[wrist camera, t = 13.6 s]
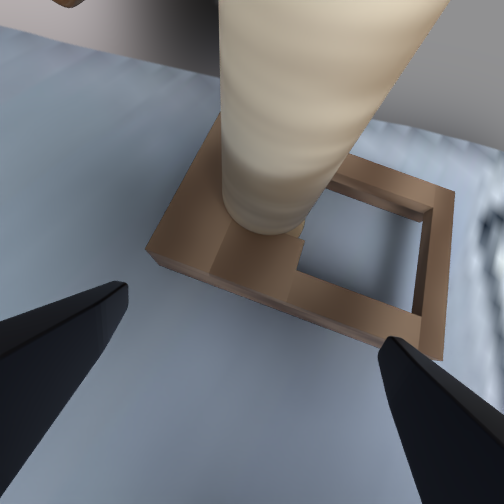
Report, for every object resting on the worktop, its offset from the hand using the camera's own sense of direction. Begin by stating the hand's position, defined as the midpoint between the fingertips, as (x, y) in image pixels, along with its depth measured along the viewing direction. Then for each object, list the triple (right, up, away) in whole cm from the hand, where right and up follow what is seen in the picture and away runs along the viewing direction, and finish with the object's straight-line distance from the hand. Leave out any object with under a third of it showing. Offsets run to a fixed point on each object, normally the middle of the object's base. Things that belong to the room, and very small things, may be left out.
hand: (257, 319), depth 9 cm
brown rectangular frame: (+3, +3, +9) cm, 10 cm away
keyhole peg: (0, +4, +9) cm, 10 cm away
